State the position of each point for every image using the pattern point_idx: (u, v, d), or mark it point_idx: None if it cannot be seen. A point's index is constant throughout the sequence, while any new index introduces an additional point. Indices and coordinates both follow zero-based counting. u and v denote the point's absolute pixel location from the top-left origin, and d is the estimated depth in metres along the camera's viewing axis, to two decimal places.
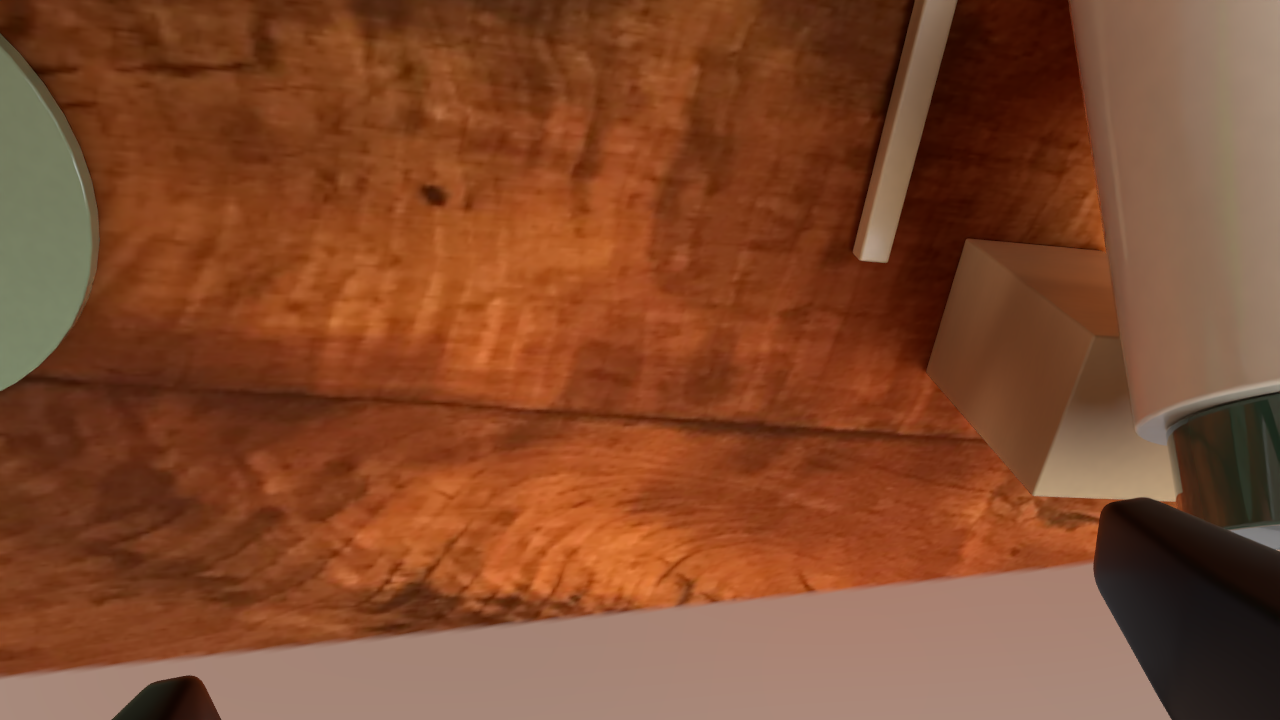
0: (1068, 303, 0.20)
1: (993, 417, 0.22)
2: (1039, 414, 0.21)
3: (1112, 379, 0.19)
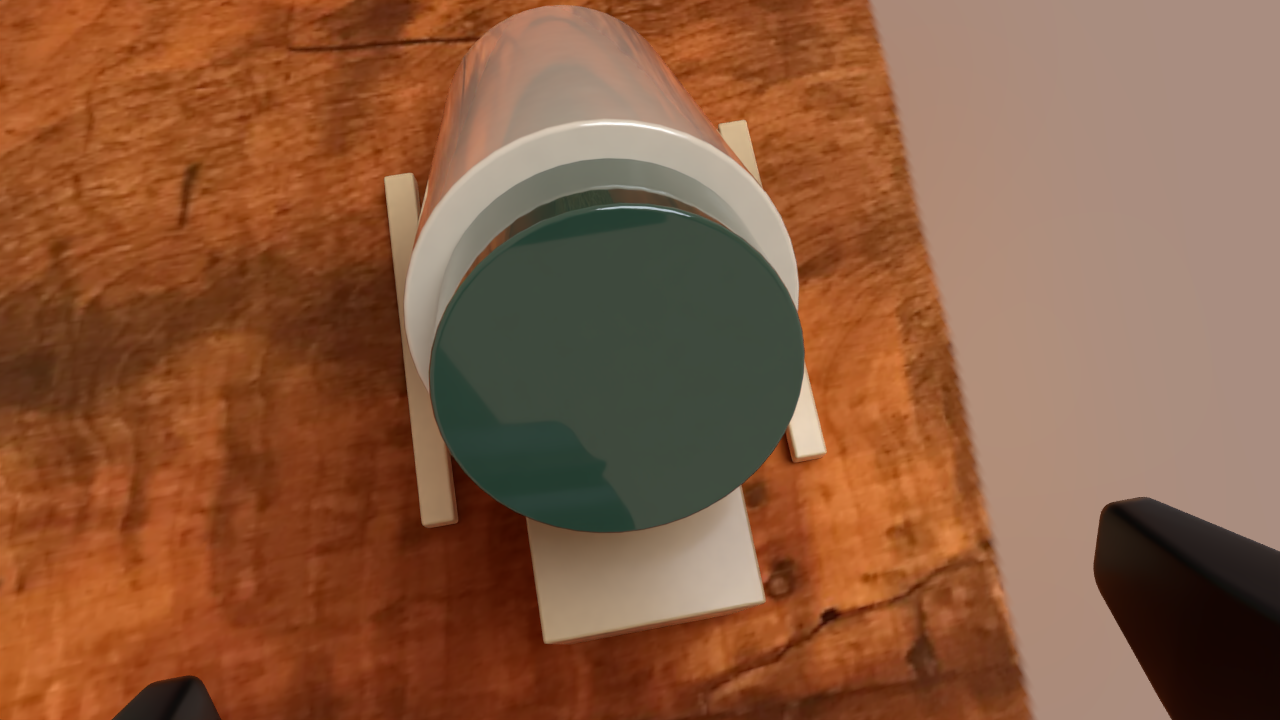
0: None
1: None
2: None
3: None
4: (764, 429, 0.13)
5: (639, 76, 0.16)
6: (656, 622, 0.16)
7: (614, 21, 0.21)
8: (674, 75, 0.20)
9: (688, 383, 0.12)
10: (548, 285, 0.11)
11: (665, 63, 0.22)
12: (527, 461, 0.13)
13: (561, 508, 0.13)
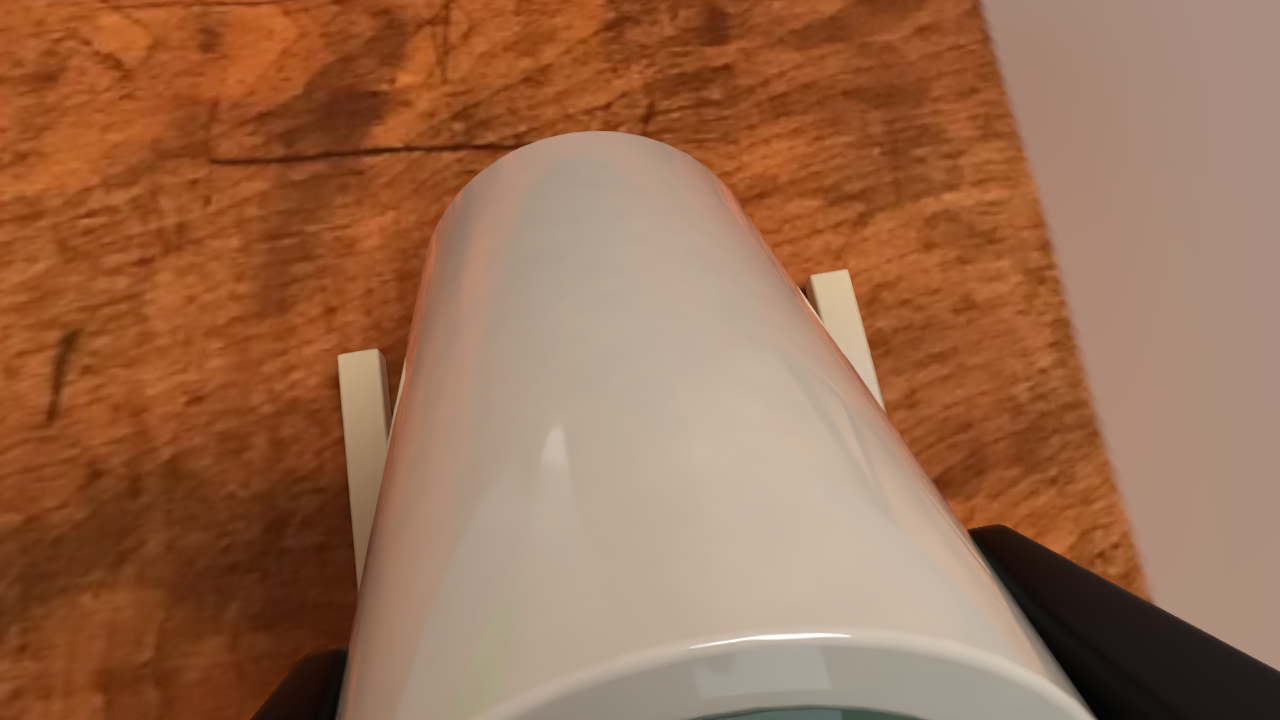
0: None
1: None
2: None
3: None
4: None
5: (767, 356, 0.08)
6: None
7: (676, 160, 0.14)
8: (780, 263, 0.12)
9: None
10: None
11: (753, 222, 0.14)
12: None
13: None
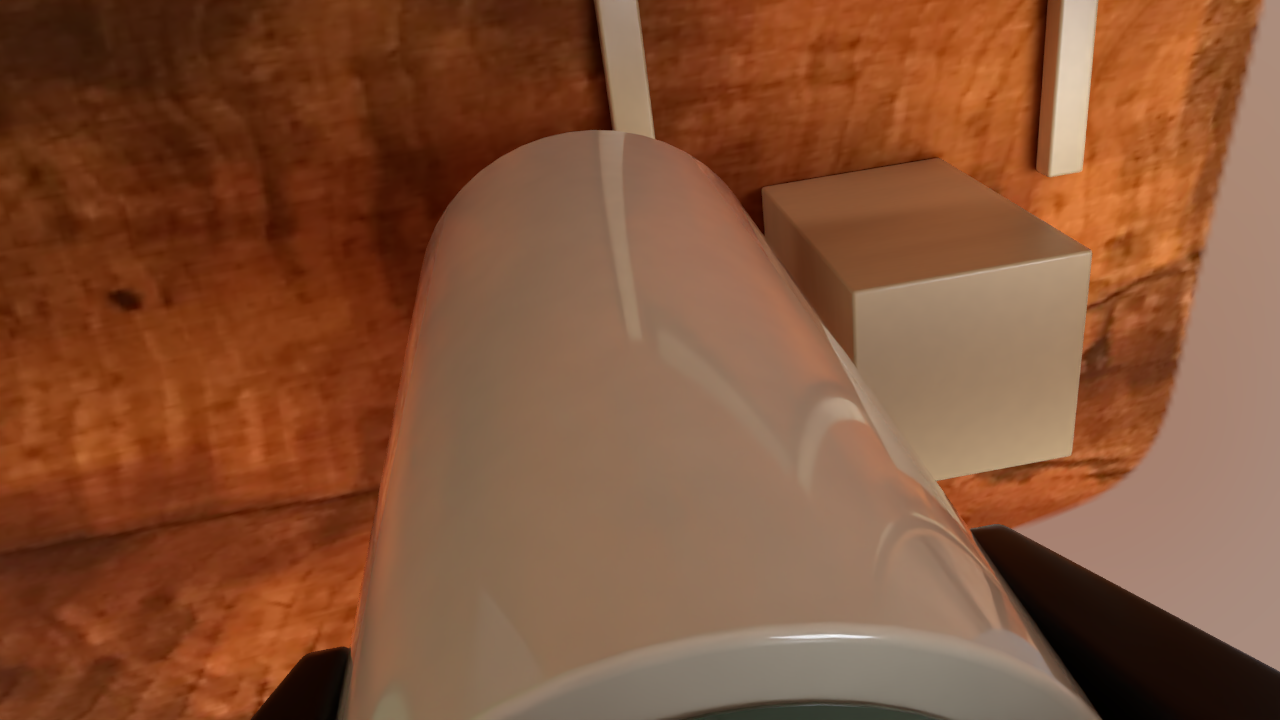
0: (844, 250, 0.16)
1: None
2: None
3: (901, 338, 0.15)
4: None
5: (768, 354, 0.08)
6: None
7: (676, 159, 0.14)
8: (780, 262, 0.12)
9: None
10: None
11: (753, 221, 0.14)
12: None
13: None
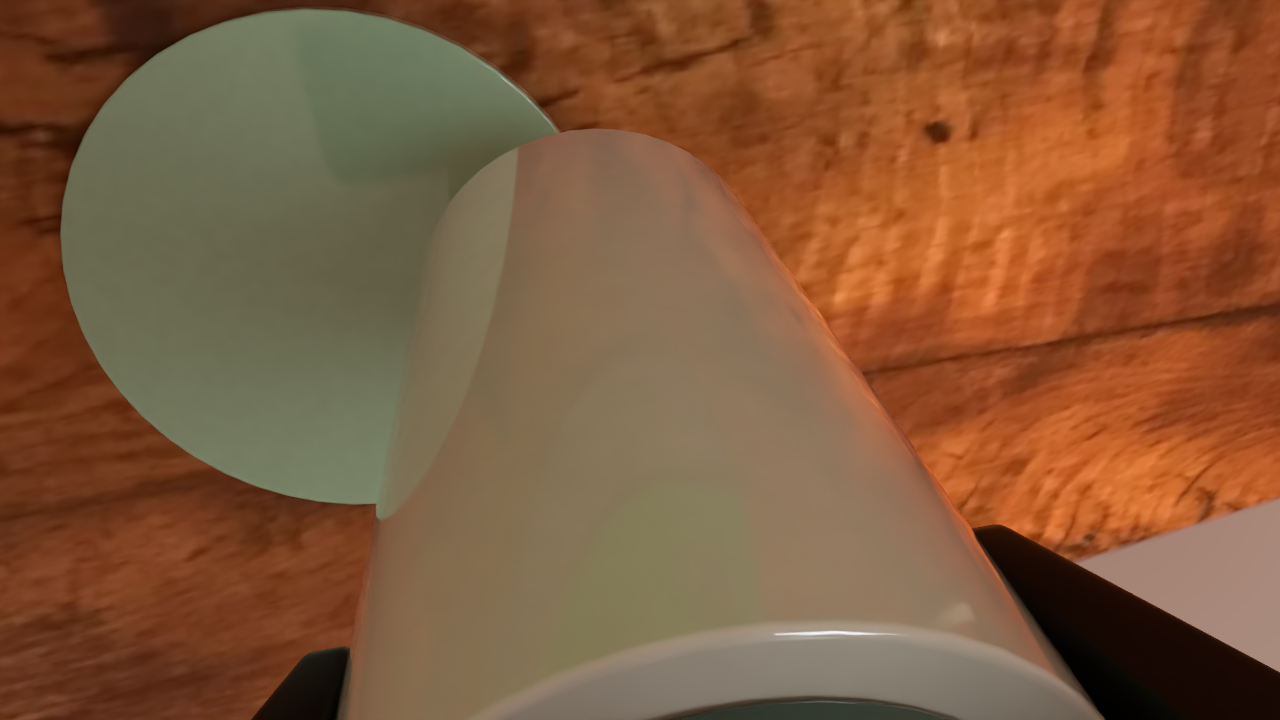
0: None
1: None
2: None
3: None
4: None
5: (768, 351, 0.08)
6: None
7: (676, 158, 0.14)
8: (780, 260, 0.12)
9: None
10: None
11: (753, 219, 0.14)
12: None
13: None
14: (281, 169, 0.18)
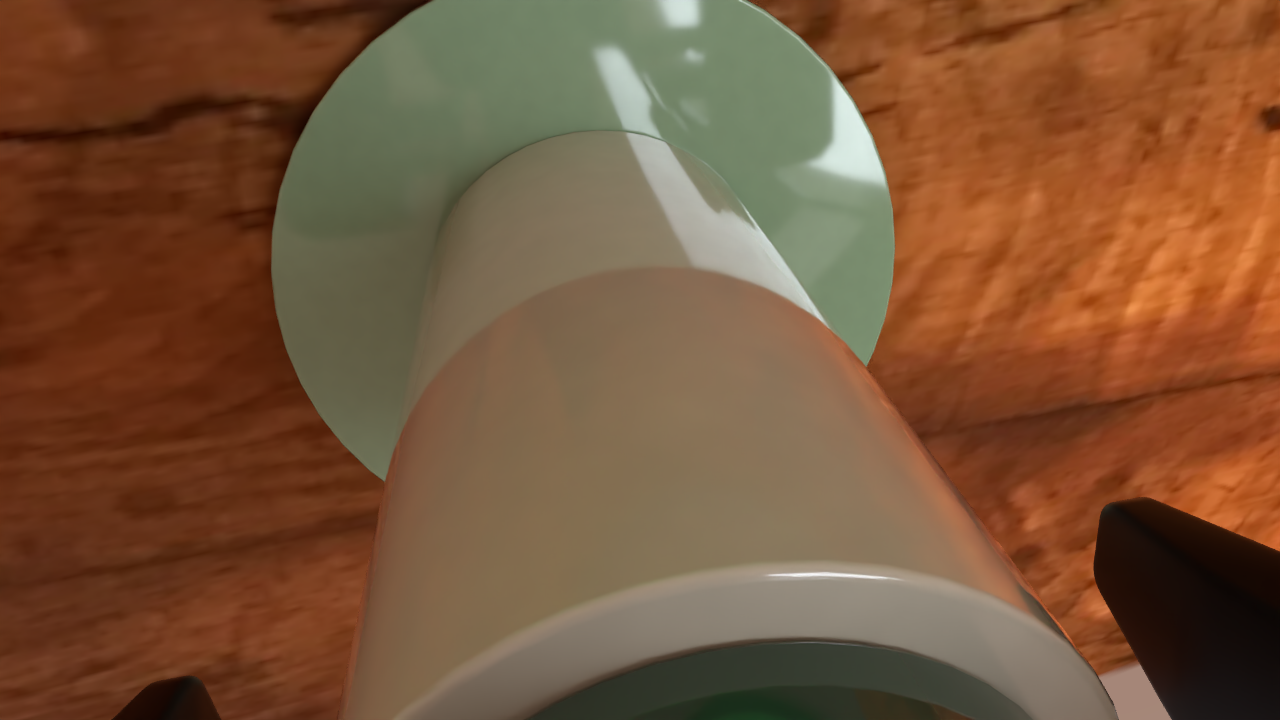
0: None
1: None
2: None
3: None
4: None
5: (767, 329, 0.09)
6: None
7: (679, 157, 0.14)
8: (780, 254, 0.13)
9: None
10: None
11: None
12: None
13: None
14: None
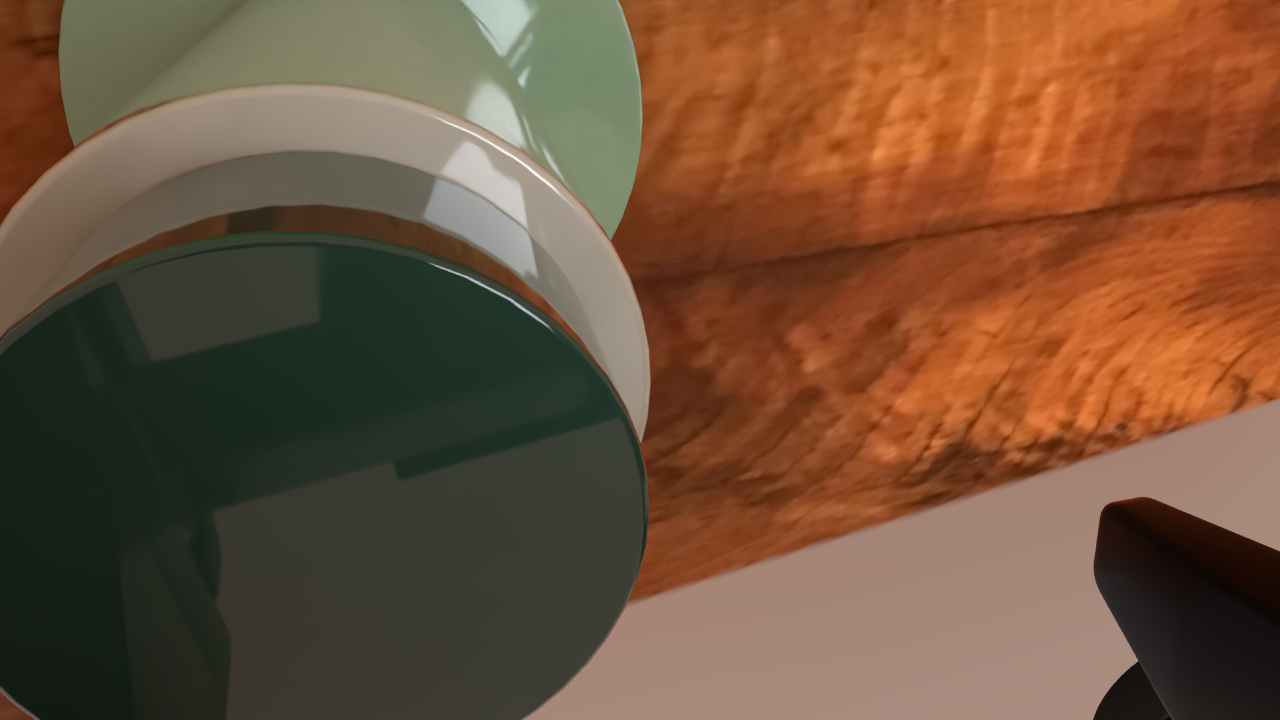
0: None
1: None
2: None
3: None
4: (588, 604, 0.08)
5: (404, 34, 0.10)
6: None
7: None
8: (493, 48, 0.15)
9: (444, 544, 0.07)
10: (135, 394, 0.06)
11: (490, 37, 0.16)
12: (163, 696, 0.07)
13: None
14: None
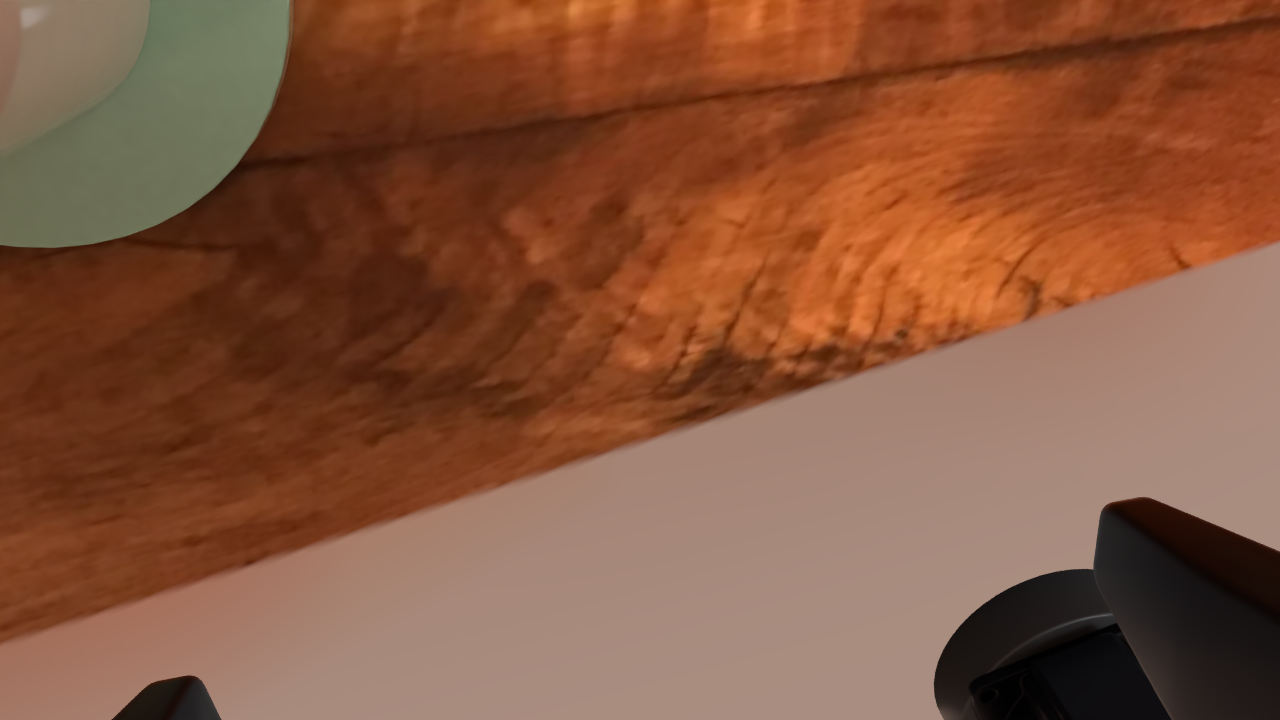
0: None
1: None
2: None
3: None
4: None
5: None
6: None
7: None
8: None
9: None
10: None
11: None
12: None
13: None
14: None
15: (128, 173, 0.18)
